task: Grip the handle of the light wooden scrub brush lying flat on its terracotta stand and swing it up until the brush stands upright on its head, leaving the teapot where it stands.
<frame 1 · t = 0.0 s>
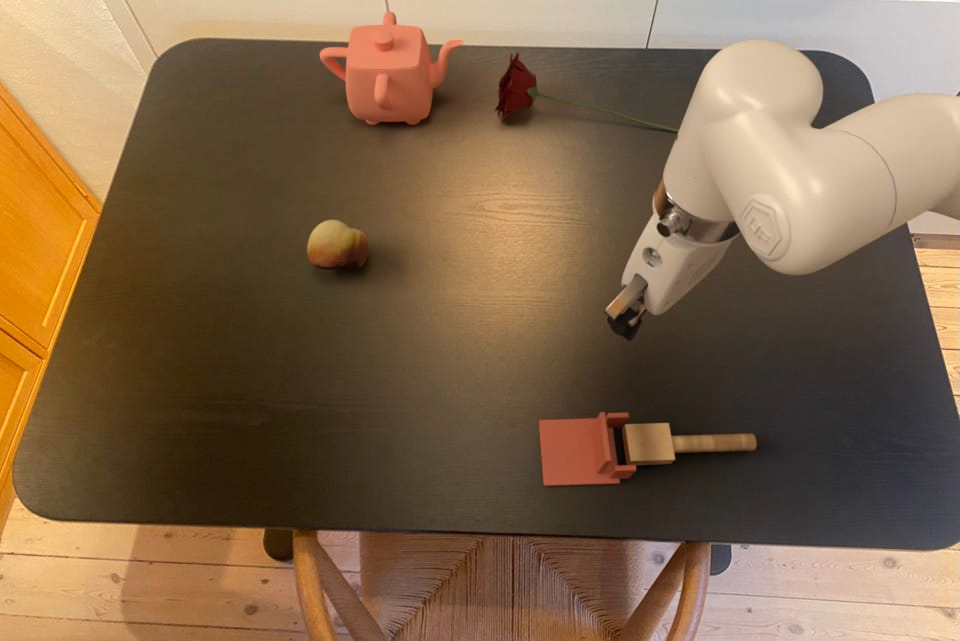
hand: (651, 302, 63), 17 cm above the table, tool pointing down, fingers open, 9 cm apart
teapot: (399, 105, 100), on the table
brush stand: (614, 450, 73), on the table
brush: (689, 443, 72), point 2 cm above the table, hinge at 0.0°
flower: (587, 121, 98), on the table
fruit: (344, 264, 86), on the table
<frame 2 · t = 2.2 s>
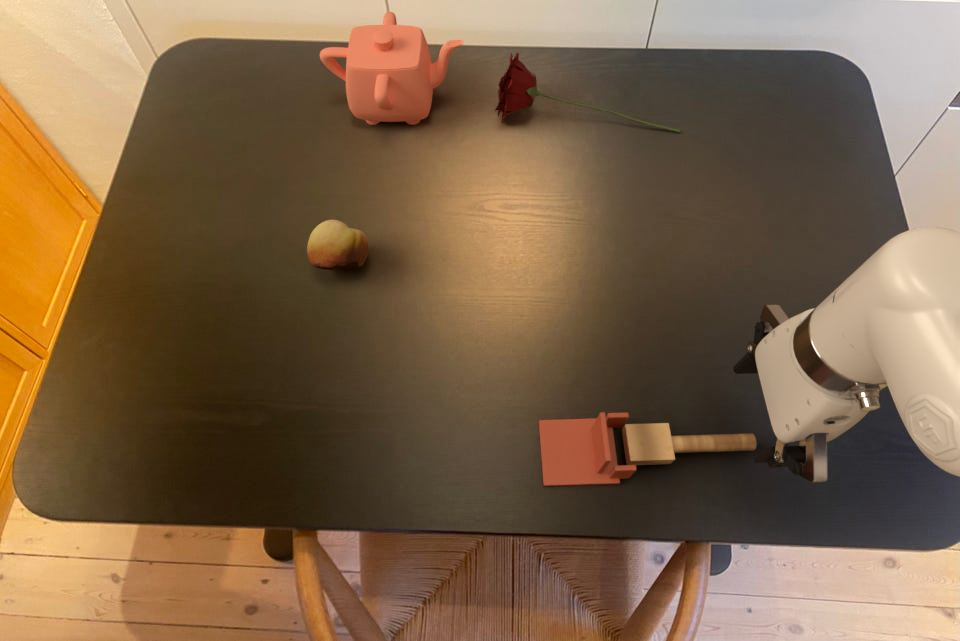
hand: (757, 413, 63), 12 cm above the table, tool pointing down, fingers open, 9 cm apart
nothing on the table moved.
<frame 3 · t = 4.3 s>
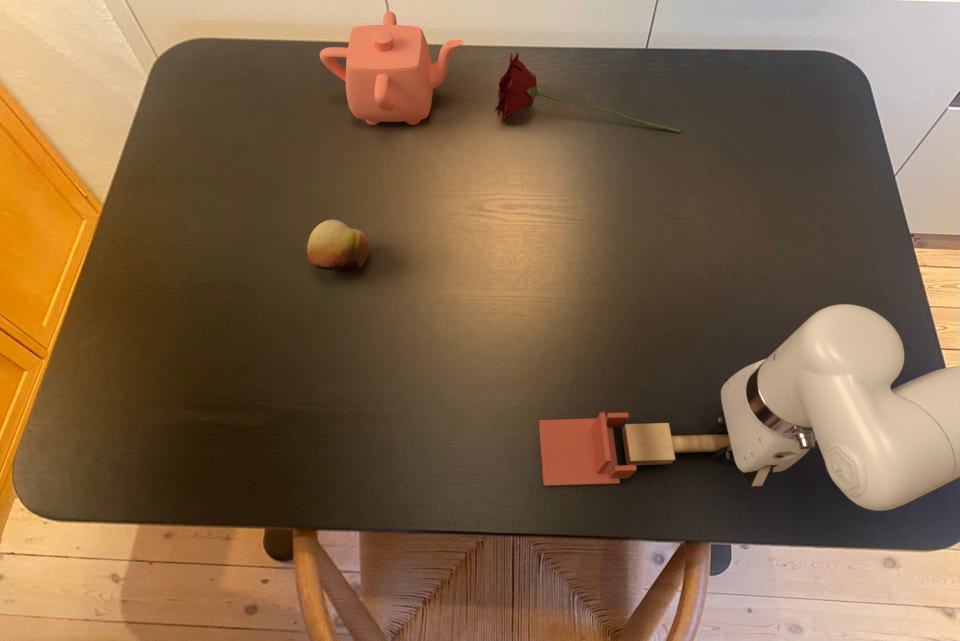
hand: (722, 446, 73), 0 cm above the table, tool pointing down, fingers closed on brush, 2 cm apart
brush: (689, 443, 72), point 2 cm above the table, hinge at 0.0°, touching gripper
everything else where it was.
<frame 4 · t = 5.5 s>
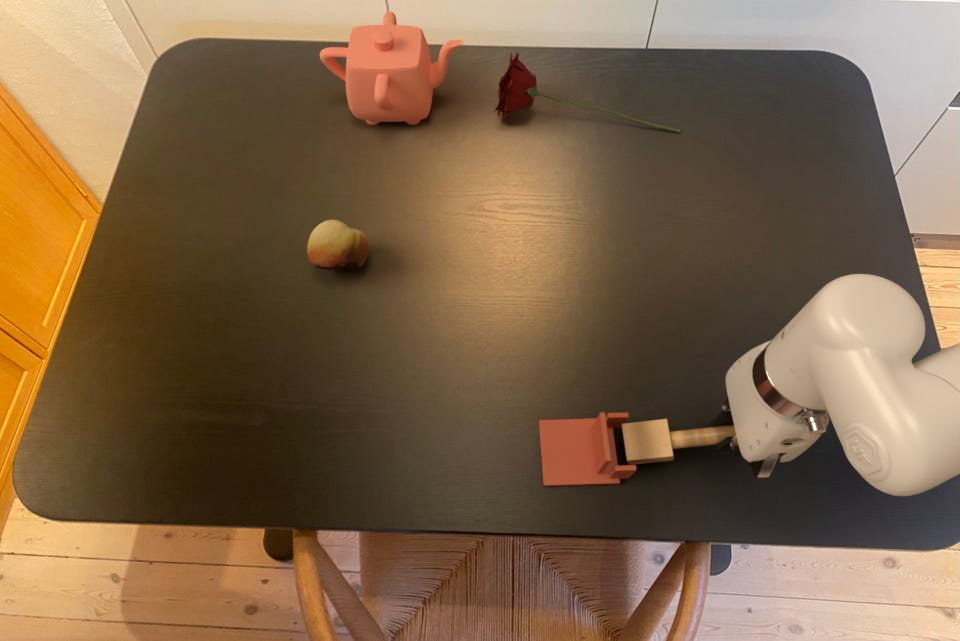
hand: (726, 437, 69), 5 cm above the table, tool pointing down, fingers closed on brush, 2 cm apart
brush: (692, 438, 69), point 5 cm above the table, hinge at 16.8°, touching gripper
everything else where it was.
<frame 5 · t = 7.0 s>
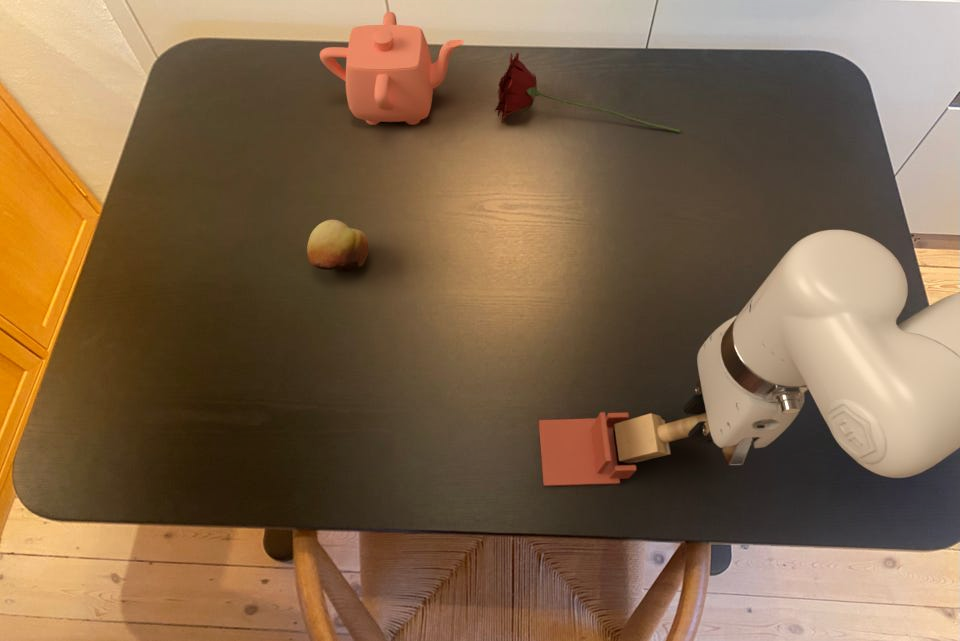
hand: (700, 423, 64), 10 cm above the table, tool pointing down, fingers closed on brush, 2 cm apart
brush: (681, 429, 66), point 8 cm above the table, hinge at 47.9°, touching gripper
everything else where it was.
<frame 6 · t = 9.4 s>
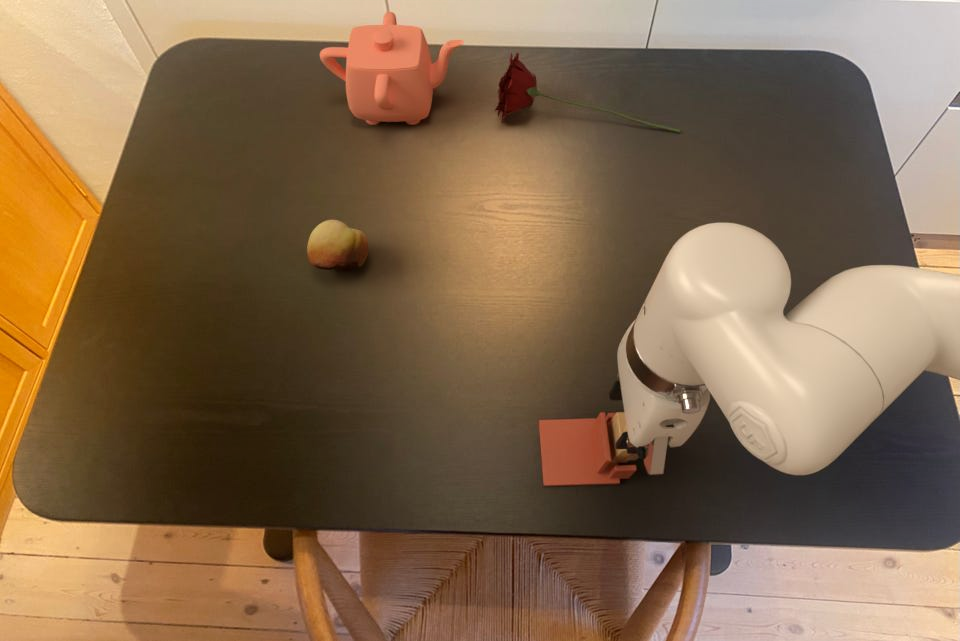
hand: (627, 420, 63), 12 cm above the table, tool pointing down, fingers open, 4 cm apart
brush: (639, 424, 64), point 11 cm above the table, hinge at 86.0°
everything else where it was.
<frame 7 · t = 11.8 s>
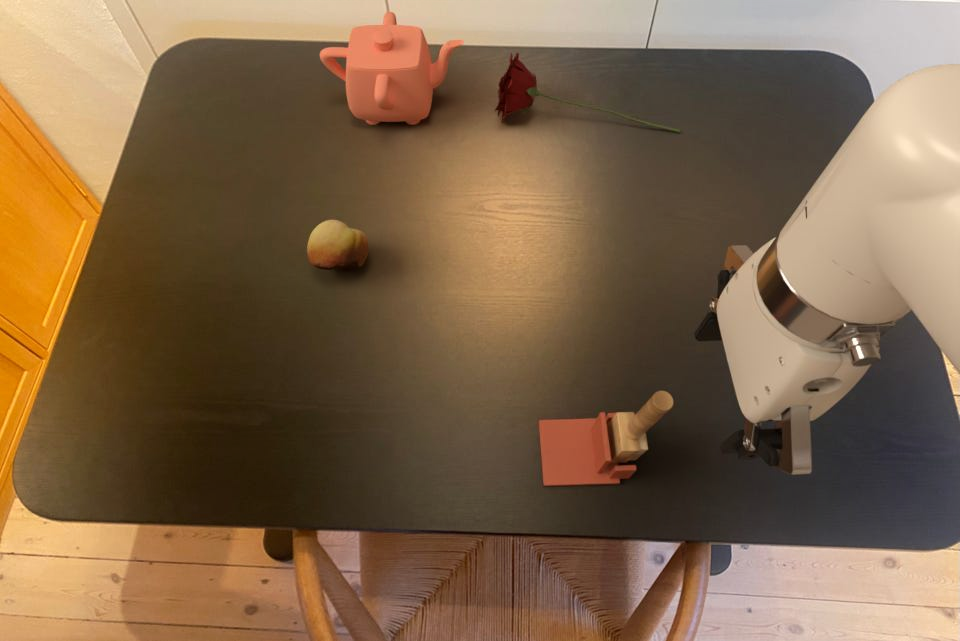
hand: (725, 390, 49), 26 cm above the table, tool pointing down, fingers open, 9 cm apart
nothing on the table moved.
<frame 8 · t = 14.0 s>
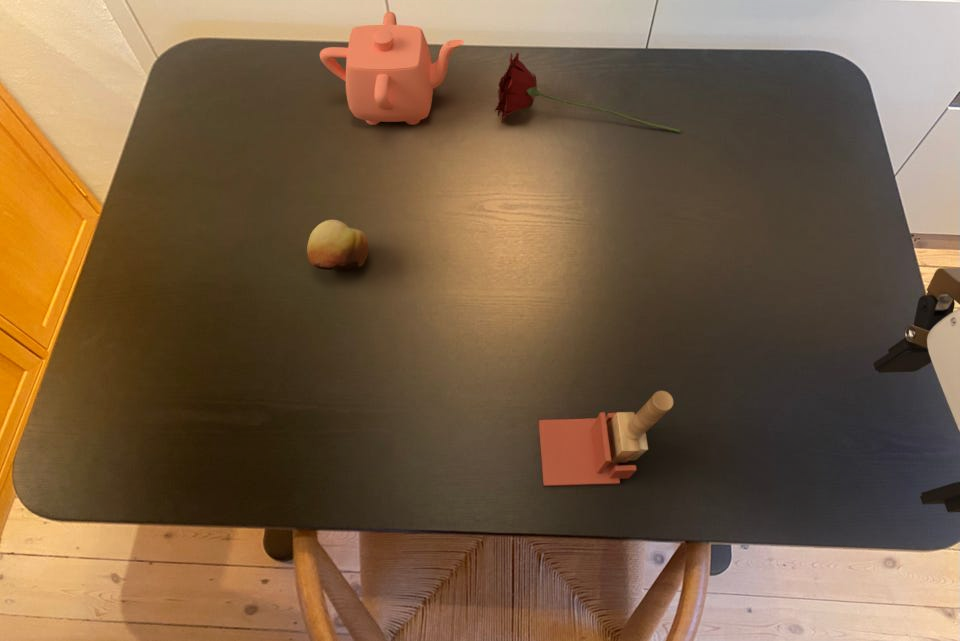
hand: (916, 430, 43), 30 cm above the table, tool pointing down, fingers open, 9 cm apart
nothing on the table moved.
at the end: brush at +86° (first picture: +0°); teapot moved 0.2 cm from its start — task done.
